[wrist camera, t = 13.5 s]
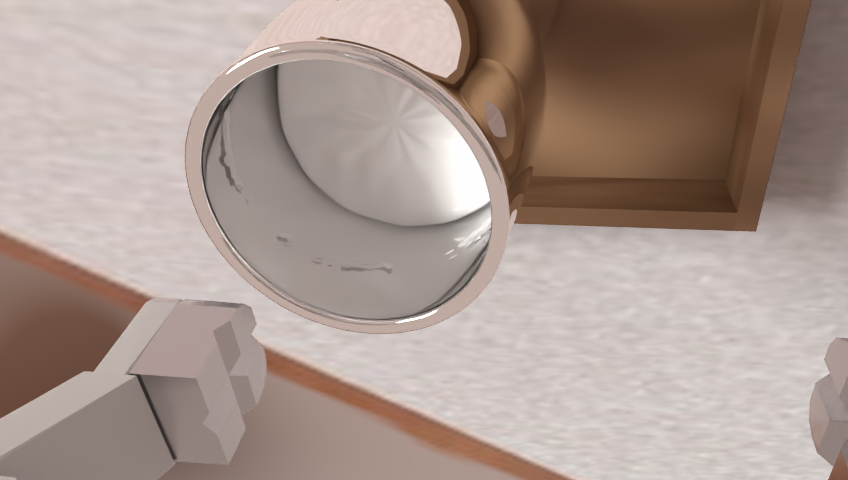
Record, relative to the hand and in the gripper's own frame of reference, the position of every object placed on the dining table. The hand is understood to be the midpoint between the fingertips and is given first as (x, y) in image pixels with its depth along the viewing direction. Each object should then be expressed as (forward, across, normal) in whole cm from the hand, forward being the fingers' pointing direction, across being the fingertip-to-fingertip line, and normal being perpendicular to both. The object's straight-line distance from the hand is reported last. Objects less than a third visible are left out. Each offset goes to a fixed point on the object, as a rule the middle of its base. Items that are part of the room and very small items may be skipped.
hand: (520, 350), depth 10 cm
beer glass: (+19, +3, 0) cm, 19 cm away
